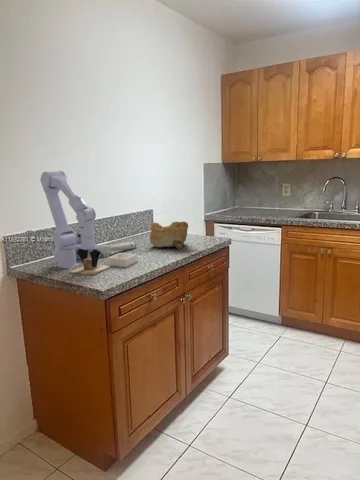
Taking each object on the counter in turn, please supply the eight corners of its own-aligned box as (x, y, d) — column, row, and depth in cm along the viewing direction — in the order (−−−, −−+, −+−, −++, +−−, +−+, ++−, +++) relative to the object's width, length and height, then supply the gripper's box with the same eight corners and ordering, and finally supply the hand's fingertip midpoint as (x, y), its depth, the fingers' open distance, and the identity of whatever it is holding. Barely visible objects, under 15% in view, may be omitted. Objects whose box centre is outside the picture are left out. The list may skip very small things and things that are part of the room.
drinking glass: (97, 256, 189) (95, 233, 186) (87, 261, 179) (85, 237, 177) (80, 255, 192) (78, 232, 189) (69, 260, 182) (67, 236, 180)
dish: (108, 266, 169) (107, 257, 168) (119, 260, 178) (119, 252, 177) (126, 267, 165) (125, 259, 164) (137, 262, 174) (137, 254, 173)
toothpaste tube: (137, 241, 203) (104, 244, 182) (136, 253, 203) (103, 257, 183) (130, 240, 206) (96, 243, 185) (129, 252, 206) (96, 256, 186)
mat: (67, 273, 159) (67, 272, 159) (87, 265, 171) (87, 264, 171) (93, 276, 153) (93, 275, 153) (112, 268, 166) (112, 266, 165)
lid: (69, 272, 159) (68, 261, 158) (87, 264, 170) (86, 254, 169) (93, 275, 154) (92, 263, 153) (111, 267, 165) (110, 256, 164)
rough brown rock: (198, 246, 206) (198, 220, 205) (184, 250, 192) (183, 222, 190) (163, 244, 218) (163, 219, 216) (147, 248, 204) (147, 221, 202)
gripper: (68, 236, 158) (71, 267, 161) (95, 238, 152) (98, 269, 155) (78, 233, 165) (81, 263, 167) (105, 235, 159) (107, 265, 162)
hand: (90, 266), depth 162 cm, fingers open, 4 cm apart
